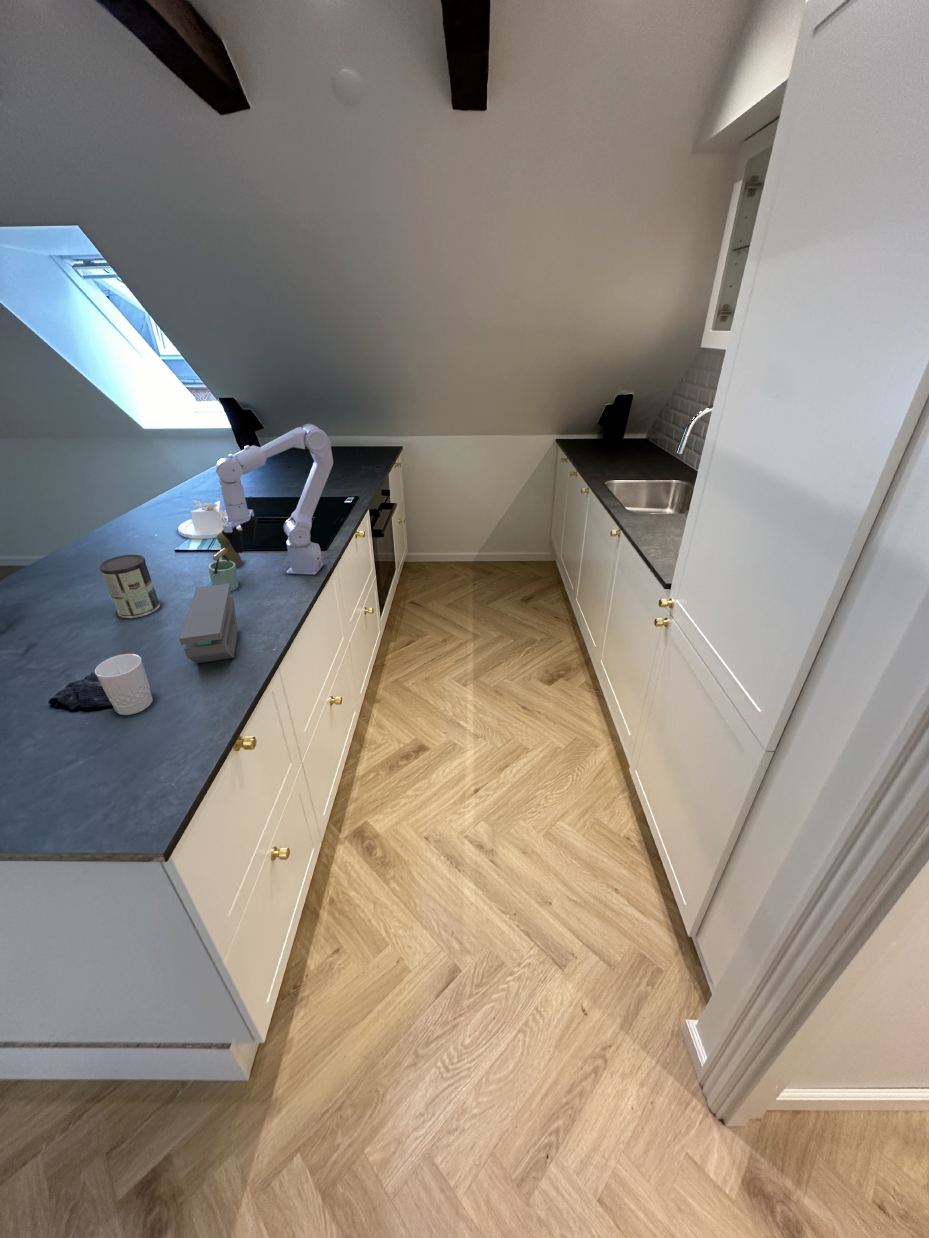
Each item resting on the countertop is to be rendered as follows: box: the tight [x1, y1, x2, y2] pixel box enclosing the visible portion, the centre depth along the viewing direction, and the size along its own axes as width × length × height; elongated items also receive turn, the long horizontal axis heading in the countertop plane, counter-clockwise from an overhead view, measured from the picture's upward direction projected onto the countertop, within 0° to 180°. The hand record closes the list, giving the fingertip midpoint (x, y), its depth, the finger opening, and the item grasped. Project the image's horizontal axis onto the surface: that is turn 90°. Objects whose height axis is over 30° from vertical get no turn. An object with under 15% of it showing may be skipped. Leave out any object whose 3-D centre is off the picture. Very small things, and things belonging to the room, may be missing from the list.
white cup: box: [94, 653, 154, 716], centre depth 102 cm, size 8×8×10 cm
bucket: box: [208, 548, 240, 592], centre depth 148 cm, size 7×8×11 cm
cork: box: [216, 532, 244, 569], centre depth 163 cm, size 6×6×11 cm
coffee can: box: [98, 554, 161, 619], centre depth 136 cm, size 10×10×14 cm
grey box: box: [178, 583, 238, 664], centre depth 121 cm, size 25×8×11 cm, turn 17°
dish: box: [177, 499, 242, 540], centre depth 193 cm, size 25×25×11 cm
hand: (245, 547), depth 151 cm, fingers open, 7 cm apart
